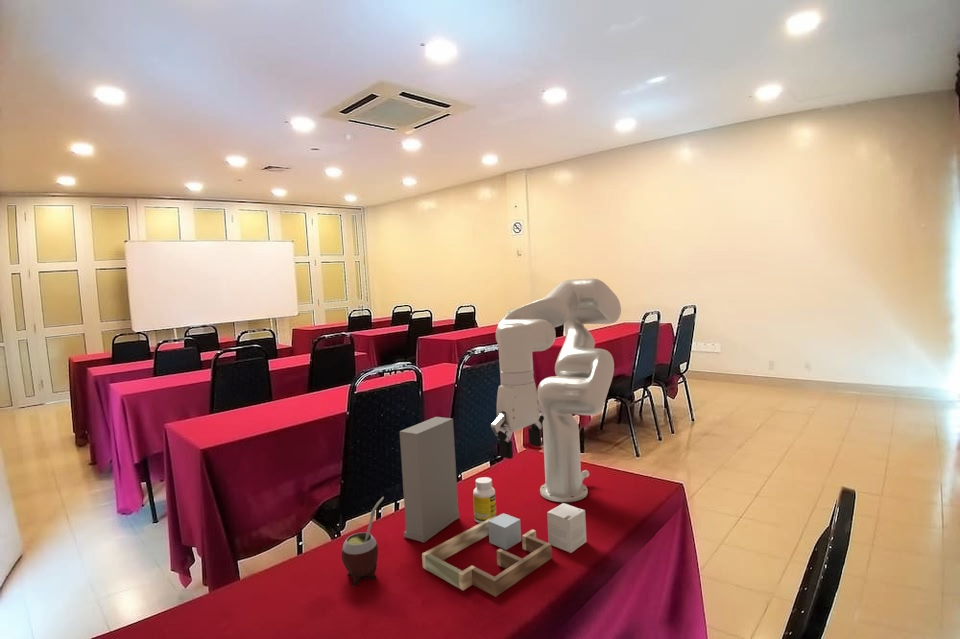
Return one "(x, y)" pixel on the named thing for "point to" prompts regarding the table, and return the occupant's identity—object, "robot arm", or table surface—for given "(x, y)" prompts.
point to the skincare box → (566, 527)
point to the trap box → (477, 577)
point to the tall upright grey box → (429, 477)
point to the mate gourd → (361, 554)
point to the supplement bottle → (484, 500)
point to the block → (504, 531)
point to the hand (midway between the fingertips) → (521, 451)
